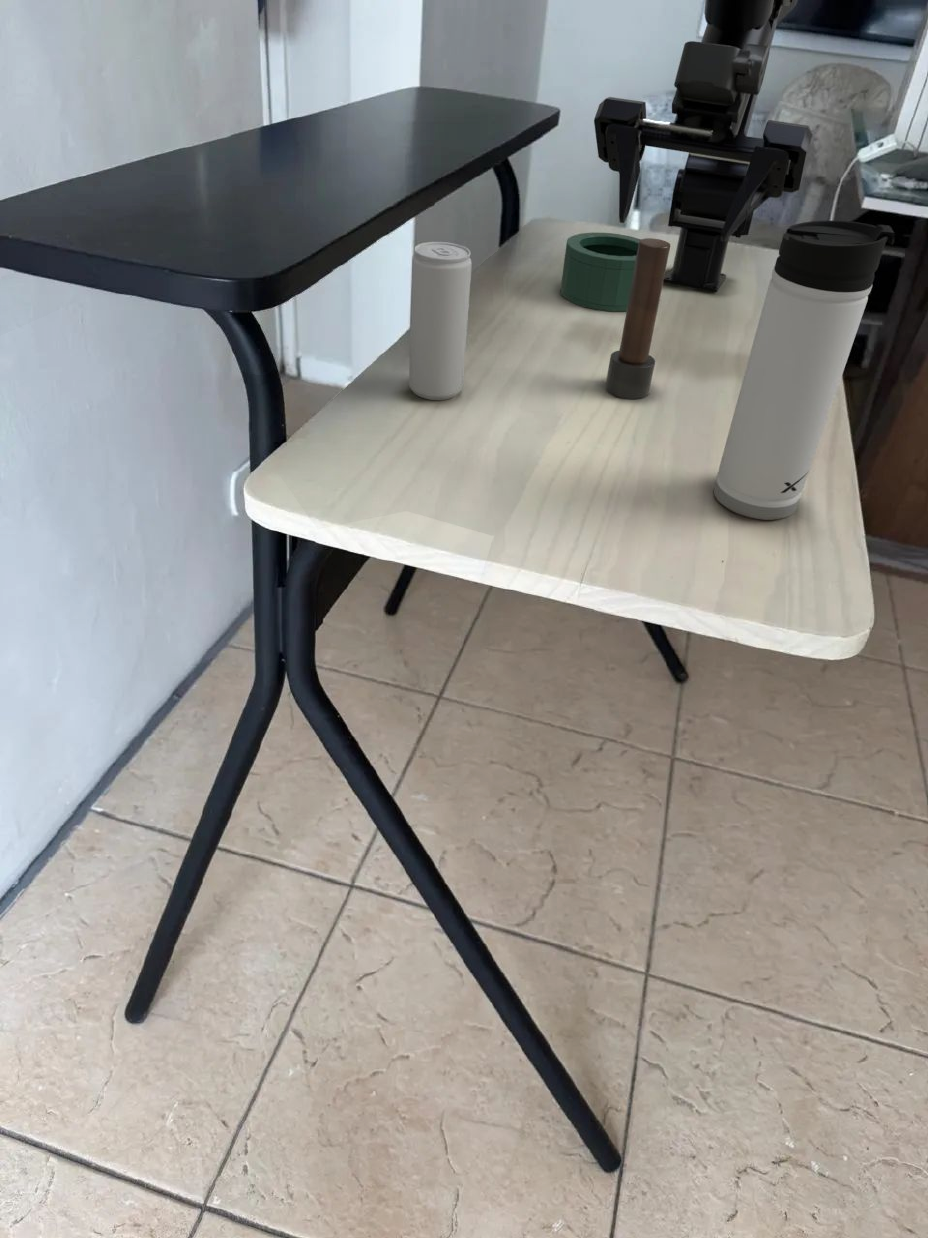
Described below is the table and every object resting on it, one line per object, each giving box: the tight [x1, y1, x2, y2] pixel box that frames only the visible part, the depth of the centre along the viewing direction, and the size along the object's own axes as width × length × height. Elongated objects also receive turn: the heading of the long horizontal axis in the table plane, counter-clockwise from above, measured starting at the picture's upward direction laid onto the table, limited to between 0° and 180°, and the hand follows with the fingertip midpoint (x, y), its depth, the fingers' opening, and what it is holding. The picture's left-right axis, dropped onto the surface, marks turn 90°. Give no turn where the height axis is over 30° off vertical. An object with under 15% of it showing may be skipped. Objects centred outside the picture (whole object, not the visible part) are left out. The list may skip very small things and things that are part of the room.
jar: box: [560, 232, 642, 312], centre depth 103 cm, size 10×10×6 cm
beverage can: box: [408, 241, 473, 401], centre depth 78 cm, size 5×5×12 cm
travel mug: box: [712, 220, 896, 521], centre depth 64 cm, size 6×7×20 cm
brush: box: [604, 237, 671, 400], centre depth 80 cm, size 4×4×13 cm
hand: (671, 229), depth 82 cm, fingers open, 9 cm apart
